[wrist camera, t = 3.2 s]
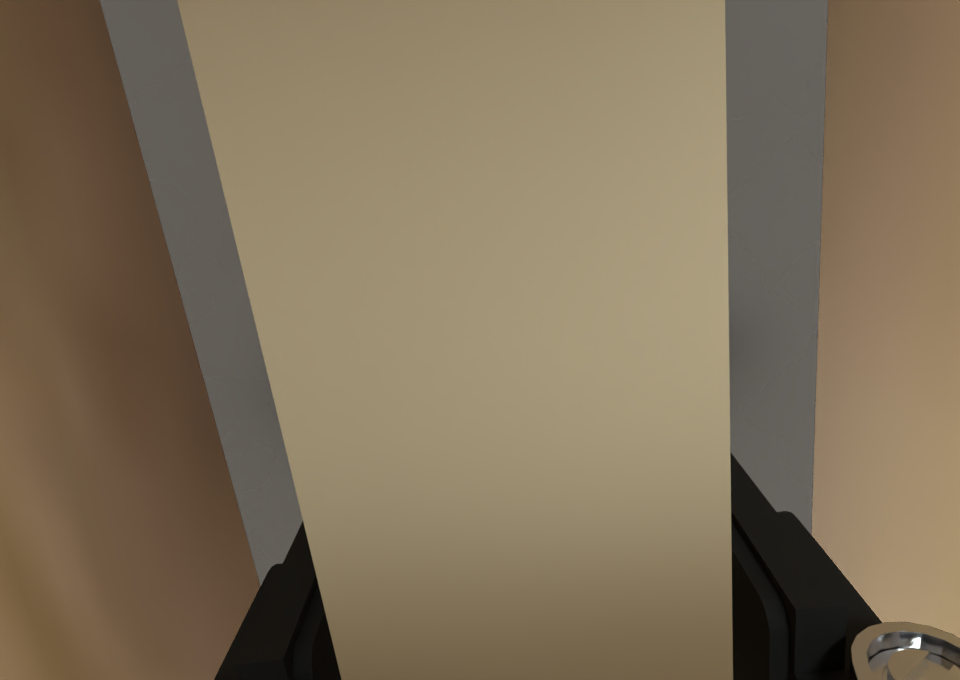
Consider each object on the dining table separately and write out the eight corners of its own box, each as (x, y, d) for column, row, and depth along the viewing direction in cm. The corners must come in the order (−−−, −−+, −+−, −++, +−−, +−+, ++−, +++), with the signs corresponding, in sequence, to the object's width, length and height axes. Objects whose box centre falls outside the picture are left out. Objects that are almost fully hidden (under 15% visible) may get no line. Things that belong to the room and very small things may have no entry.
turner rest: (93, -153, 9) (49, -185, 8) (799, -265, 9) (838, -313, 8) (367, 898, 16) (360, 947, 15) (780, 866, 15) (799, 914, 15)
